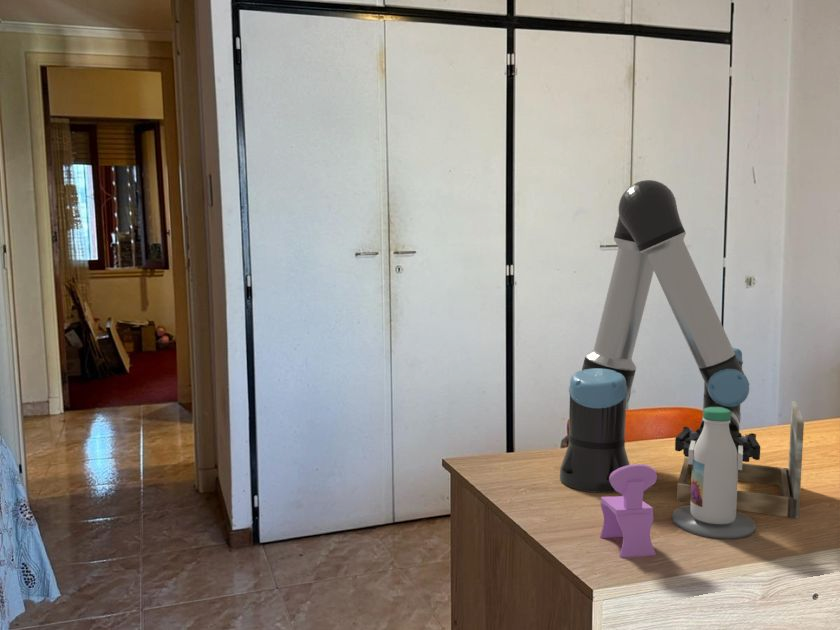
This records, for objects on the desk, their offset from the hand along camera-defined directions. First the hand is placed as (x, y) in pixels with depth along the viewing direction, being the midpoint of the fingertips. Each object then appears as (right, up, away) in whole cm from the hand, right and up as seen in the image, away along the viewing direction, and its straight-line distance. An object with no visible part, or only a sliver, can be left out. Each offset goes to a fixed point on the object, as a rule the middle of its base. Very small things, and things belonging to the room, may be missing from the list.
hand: (715, 459), depth 131 cm
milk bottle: (0, -11, +2) cm, 11 cm away
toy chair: (-18, -14, -6) cm, 23 cm away
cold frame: (+11, -11, +19) cm, 24 cm away
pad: (+1, -12, +3) cm, 13 cm away
